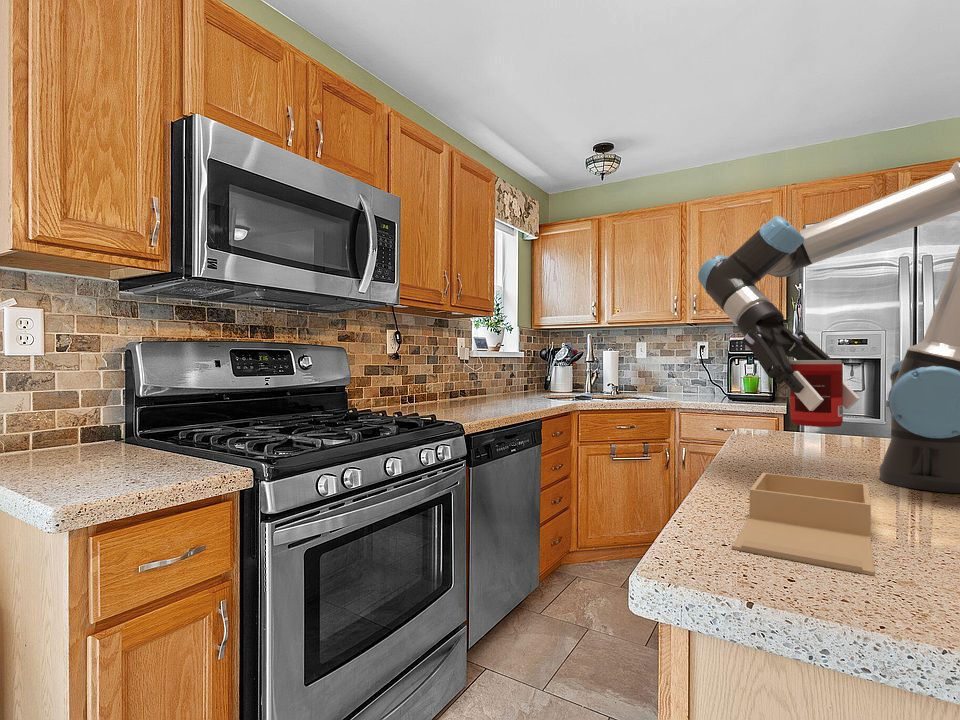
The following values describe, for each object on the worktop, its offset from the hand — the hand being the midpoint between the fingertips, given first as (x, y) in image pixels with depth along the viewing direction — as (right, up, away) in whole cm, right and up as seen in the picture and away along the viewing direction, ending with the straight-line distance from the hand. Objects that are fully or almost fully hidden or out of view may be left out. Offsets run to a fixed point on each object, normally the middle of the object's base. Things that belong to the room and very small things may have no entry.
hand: (835, 404), depth 89 cm
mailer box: (-14, -16, -15) cm, 26 cm away
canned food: (-1, -4, +3) cm, 5 cm away
